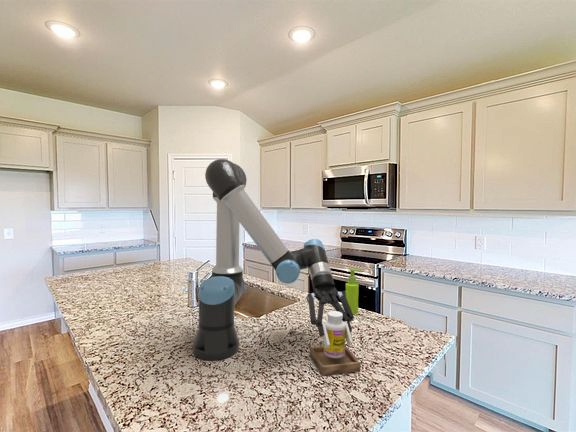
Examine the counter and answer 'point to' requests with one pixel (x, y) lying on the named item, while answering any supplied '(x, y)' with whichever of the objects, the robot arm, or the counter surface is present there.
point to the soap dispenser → (352, 292)
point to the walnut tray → (334, 362)
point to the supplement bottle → (335, 335)
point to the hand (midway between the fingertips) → (338, 345)
